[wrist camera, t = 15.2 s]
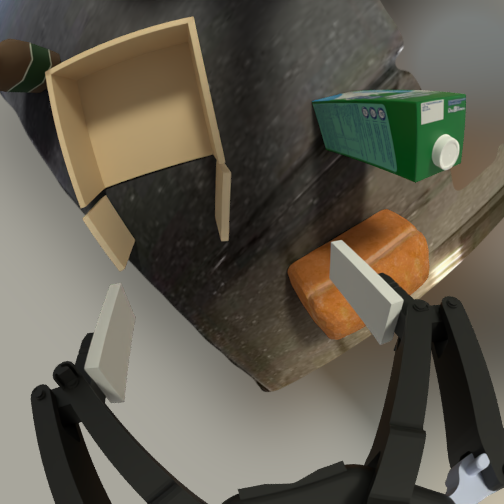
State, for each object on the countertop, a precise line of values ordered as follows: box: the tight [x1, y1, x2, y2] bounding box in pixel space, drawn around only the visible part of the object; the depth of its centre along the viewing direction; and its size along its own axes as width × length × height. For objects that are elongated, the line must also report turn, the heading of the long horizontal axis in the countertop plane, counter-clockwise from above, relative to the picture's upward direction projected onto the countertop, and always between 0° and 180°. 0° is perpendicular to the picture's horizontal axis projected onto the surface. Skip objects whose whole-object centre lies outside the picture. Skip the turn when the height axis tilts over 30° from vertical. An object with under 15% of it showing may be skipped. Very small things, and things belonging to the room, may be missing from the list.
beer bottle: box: [0, 39, 61, 93], centre depth 18 cm, size 8×8×24 cm
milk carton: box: [312, 90, 466, 183], centre depth 32 cm, size 9×9×25 cm
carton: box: [45, 17, 226, 208], centre depth 32 cm, size 20×20×10 cm
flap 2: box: [215, 161, 231, 241], centre depth 40 cm, size 1×9×10 cm, turn 176°
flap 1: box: [83, 195, 135, 271], centre depth 39 cm, size 1×9×10 cm, turn 25°
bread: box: [287, 209, 429, 339], centre depth 50 cm, size 14×26×16 cm, turn 117°
